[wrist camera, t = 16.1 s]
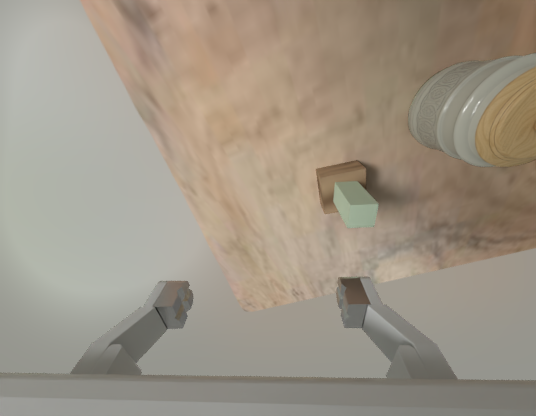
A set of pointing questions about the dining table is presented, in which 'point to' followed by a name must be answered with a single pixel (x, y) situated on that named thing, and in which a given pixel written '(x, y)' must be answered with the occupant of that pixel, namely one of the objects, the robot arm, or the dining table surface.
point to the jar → (480, 111)
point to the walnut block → (337, 174)
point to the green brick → (355, 204)
